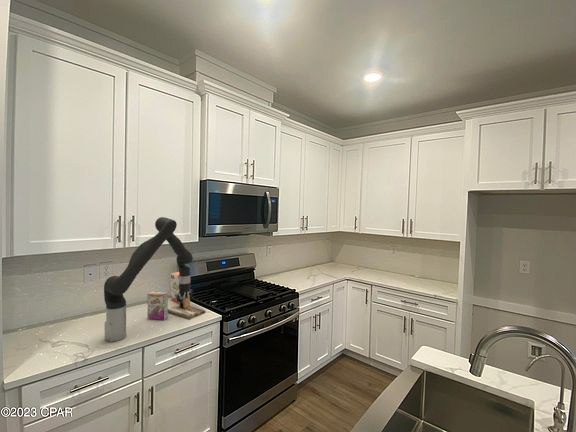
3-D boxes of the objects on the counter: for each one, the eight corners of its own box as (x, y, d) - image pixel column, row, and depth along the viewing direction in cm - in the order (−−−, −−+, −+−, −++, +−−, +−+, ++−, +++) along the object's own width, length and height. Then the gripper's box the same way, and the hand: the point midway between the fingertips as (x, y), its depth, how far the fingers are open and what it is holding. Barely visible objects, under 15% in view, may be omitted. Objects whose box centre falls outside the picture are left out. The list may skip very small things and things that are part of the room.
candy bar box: (147, 319, 179) (147, 293, 179) (151, 316, 184) (151, 291, 184) (164, 320, 178) (164, 294, 178) (168, 317, 183) (168, 292, 183)
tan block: (185, 308, 195) (185, 299, 195) (179, 306, 198) (179, 298, 198) (189, 306, 198) (189, 298, 198) (183, 304, 201) (183, 296, 201)
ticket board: (188, 319, 180) (188, 315, 180) (165, 312, 191) (165, 308, 191) (205, 312, 192) (205, 308, 192) (182, 306, 203) (182, 302, 203)
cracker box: (170, 300, 215) (170, 272, 214) (178, 298, 219) (178, 271, 218) (180, 304, 206) (180, 276, 205) (187, 302, 210) (187, 274, 209)
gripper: (179, 285, 189) (179, 310, 190) (196, 280, 202) (196, 304, 202) (172, 283, 193) (172, 308, 194) (189, 278, 205) (188, 302, 206)
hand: (184, 306), depth 198 cm, fingers closed on tan block, 4 cm apart
